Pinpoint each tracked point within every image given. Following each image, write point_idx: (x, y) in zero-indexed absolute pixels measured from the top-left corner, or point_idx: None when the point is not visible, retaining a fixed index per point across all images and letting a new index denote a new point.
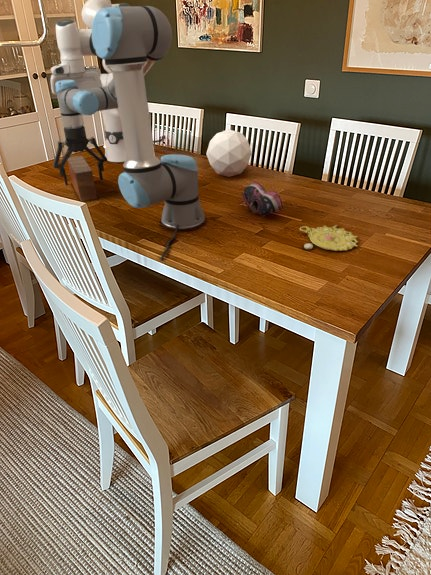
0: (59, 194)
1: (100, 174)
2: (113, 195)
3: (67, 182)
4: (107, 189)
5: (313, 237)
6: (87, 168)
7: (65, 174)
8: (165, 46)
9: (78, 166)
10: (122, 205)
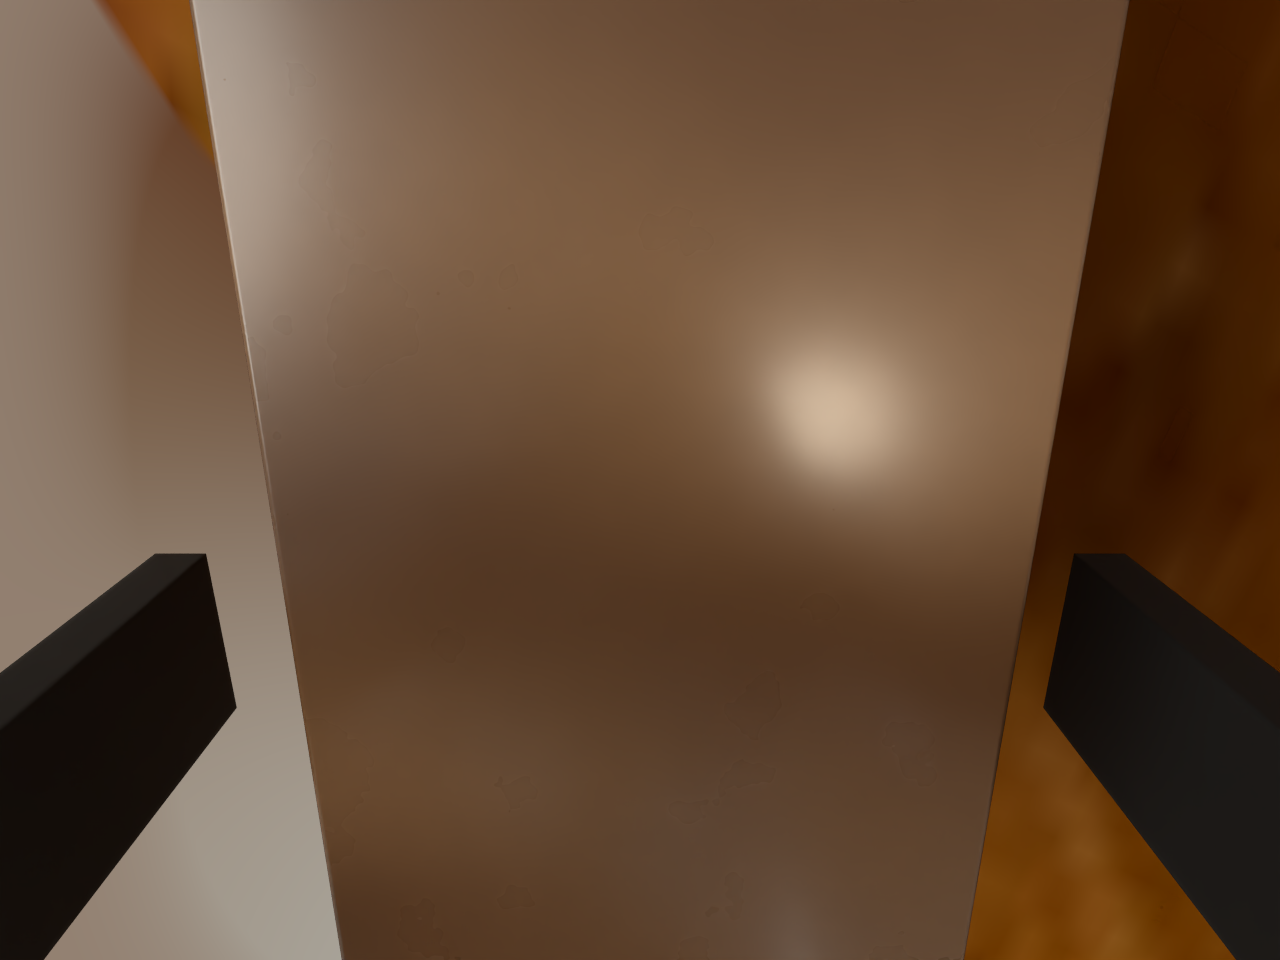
0: (138, 9)
1: (1134, 814)
2: (1066, 567)
3: (199, 753)
4: (1101, 204)
5: None
6: (871, 852)
7: (41, 945)
8: None
9: (569, 406)
10: (1017, 956)
